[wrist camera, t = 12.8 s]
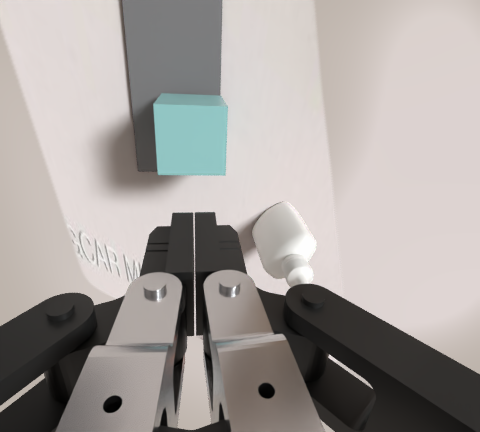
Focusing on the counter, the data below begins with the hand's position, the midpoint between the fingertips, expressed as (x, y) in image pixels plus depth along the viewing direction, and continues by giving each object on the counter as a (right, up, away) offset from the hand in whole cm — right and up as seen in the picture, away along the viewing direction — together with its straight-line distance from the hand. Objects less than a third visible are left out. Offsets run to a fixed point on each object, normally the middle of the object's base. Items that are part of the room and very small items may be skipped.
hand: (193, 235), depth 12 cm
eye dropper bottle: (+6, 0, +26) cm, 26 cm away
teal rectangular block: (-3, +9, +18) cm, 20 cm away
